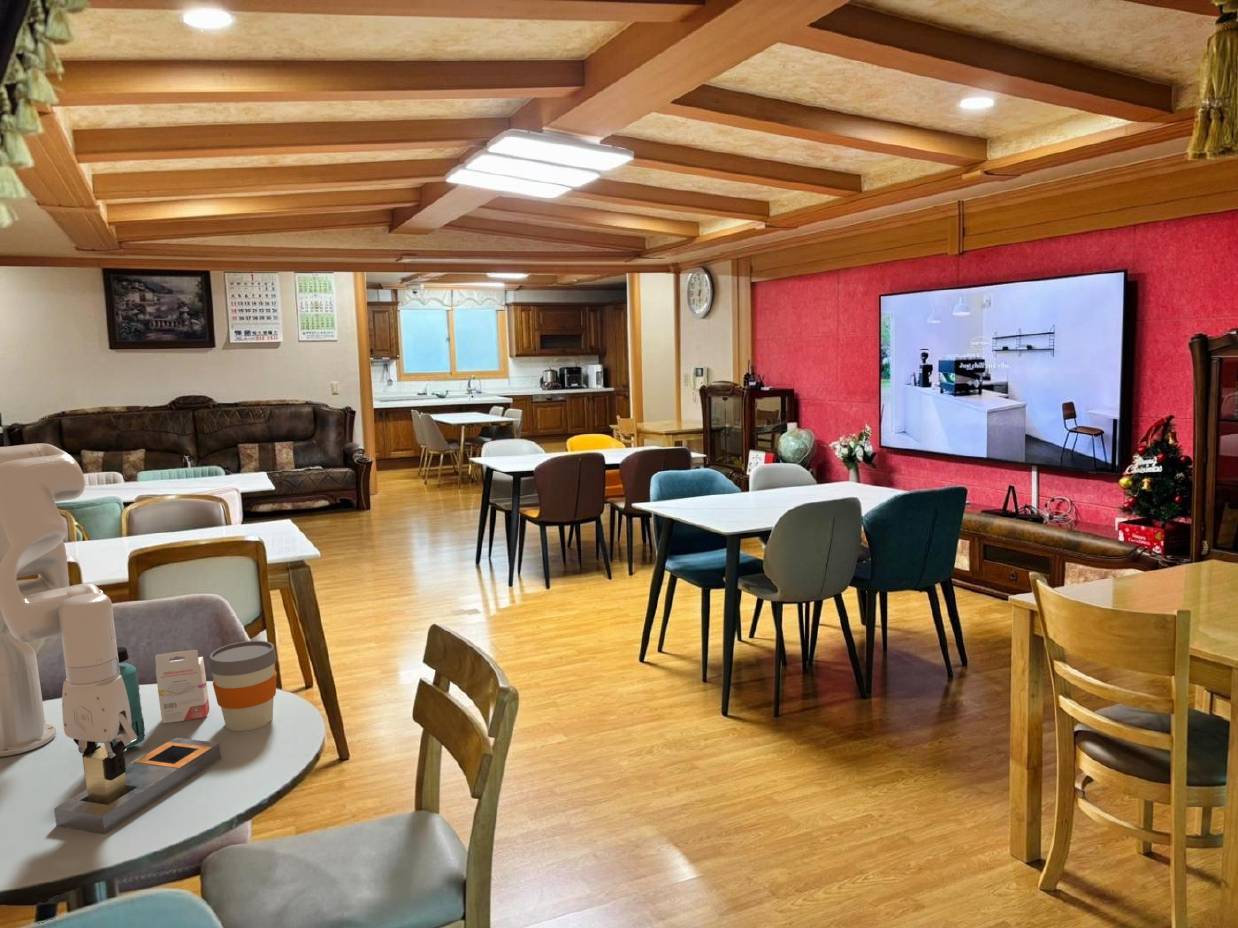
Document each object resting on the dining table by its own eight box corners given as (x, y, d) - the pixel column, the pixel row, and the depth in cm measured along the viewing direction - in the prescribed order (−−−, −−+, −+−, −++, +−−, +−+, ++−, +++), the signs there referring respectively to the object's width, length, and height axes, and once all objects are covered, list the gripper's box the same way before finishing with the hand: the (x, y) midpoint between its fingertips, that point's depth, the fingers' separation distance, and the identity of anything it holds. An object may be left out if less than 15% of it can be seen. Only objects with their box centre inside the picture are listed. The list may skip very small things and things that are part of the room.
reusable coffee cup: (280, 728, 179) (273, 656, 176) (212, 739, 175) (204, 666, 173) (283, 704, 190) (277, 636, 188) (219, 713, 187) (212, 645, 185)
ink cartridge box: (210, 708, 190) (203, 642, 188) (206, 717, 185) (199, 649, 183) (165, 714, 187) (158, 647, 185) (161, 724, 183) (153, 655, 180)
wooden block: (88, 802, 148) (83, 756, 147) (108, 789, 152) (103, 745, 151) (107, 805, 147) (102, 759, 146) (127, 792, 151) (122, 748, 149)
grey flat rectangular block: (56, 825, 145) (53, 807, 145) (177, 752, 170) (176, 736, 169) (104, 833, 142) (102, 815, 142) (221, 757, 167) (219, 742, 166)
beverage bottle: (130, 757, 168) (117, 656, 165) (99, 755, 170) (86, 654, 167) (154, 742, 175) (142, 643, 172) (125, 740, 176) (113, 642, 173)
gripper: (32, 673, 145) (46, 778, 148) (114, 683, 140) (127, 792, 143) (73, 656, 152) (85, 757, 155) (152, 666, 147) (163, 769, 150)
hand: (105, 773), depth 149 cm, fingers closed on wooden block, 4 cm apart
